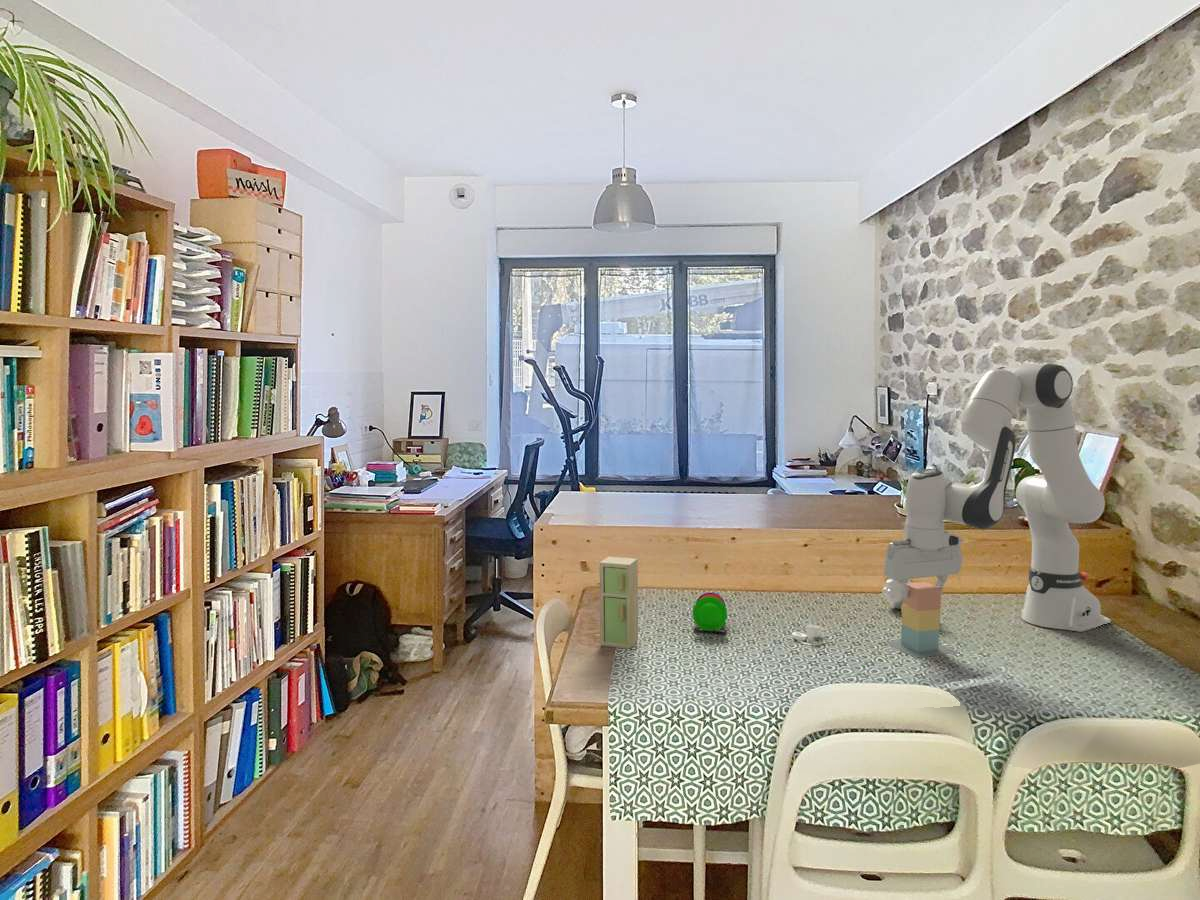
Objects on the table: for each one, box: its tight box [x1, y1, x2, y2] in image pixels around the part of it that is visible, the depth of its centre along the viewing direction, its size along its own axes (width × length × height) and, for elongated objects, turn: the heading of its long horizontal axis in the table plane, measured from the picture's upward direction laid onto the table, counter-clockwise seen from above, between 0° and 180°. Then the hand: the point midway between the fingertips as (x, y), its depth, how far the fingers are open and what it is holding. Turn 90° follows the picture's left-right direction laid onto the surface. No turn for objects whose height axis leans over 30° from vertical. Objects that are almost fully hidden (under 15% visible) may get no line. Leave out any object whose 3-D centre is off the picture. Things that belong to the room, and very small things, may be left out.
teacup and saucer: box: [791, 623, 826, 647], centre depth 209 cm, size 9×8×4 cm
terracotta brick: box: [903, 581, 942, 611], centre depth 199 cm, size 6×6×5 cm
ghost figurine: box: [881, 578, 914, 610], centre depth 236 cm, size 9×10×10 cm
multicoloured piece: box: [692, 592, 728, 633], centre depth 219 cm, size 9×10×15 cm
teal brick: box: [900, 624, 940, 652], centre depth 200 cm, size 6×6×5 cm
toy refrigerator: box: [599, 556, 639, 649], centre depth 205 cm, size 8×7×21 cm
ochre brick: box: [901, 604, 941, 632], centre depth 200 cm, size 6×6×5 cm
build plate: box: [882, 639, 957, 659], centre depth 201 cm, size 12×12×1 cm
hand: (921, 594), depth 199 cm, fingers open, 8 cm apart
